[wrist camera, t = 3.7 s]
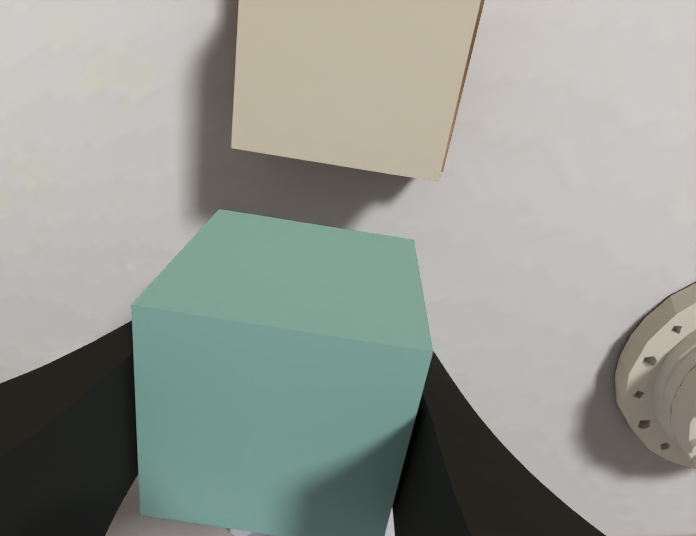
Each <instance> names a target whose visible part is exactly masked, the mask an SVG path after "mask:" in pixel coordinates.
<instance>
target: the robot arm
mask: <svg viewBox="0 0 696 536" xmlns="http://www.w3.org/2000/svg"><path fill="white" fill-rule="evenodd" d="M137 475H138V453H137V428H136V404H135V380H134V355H133V331H132V321H130V322H128V323H127V324H125V325H123V326H121V327H119V328H118V329H116V330H114V331H112V332H110V333H108V334H107V335H105V336H103V337H101V338H99V339H97V340H95V341H94V342H92V343H90V344H88V345H86V346H84V347H82V348H80V349H77V350H75V351H73V352H71V353H69V354H67V355H65V356H63V357H61V358H59V359H57V360H55V361H53V362H51V363H49V364H46V365H44V366H42V367H40V368H37V369H35V370H33V371H30V372H28V373H26V374H23V375H21V376H18V377H16V378H13V379H10V380H8V381H5V382H3V383H0V536H105V535H106V533H107V530H108V528H109V526H110V524H111V522H112V520H113V518H114V516H115V514H116V512H117V510H118V508H119V506H120V504H121V503H122V501H123V499H124V497H125V495H126V494H127V492H128V490H129V489H130V487H131V485H132V483H133V482H134V480H135V478H136V477H137ZM230 533H231V534H232V535H233V536H275V535H269V534H262V533H256V532H249V531H242V530H236V529H230ZM385 536H606V535H604V534H603V533H602V532H600V531H599V530H598V529H596V528H595V527H594V526H592V525H591V524H590V523H588V522H587V521H586V520H585V519H583V518H582V517H581V516H580V515H578V514H577V513H576V512H575V511H573V510H572V509H571V508H570V507H568V506H567V505H566V504H565V503H564V502H563V501H561V500H560V499H559V498H558V497H557V496H556V495H555V494H553V493H552V492H551V491H550V490H549V489H548V488H547V487H545V486H544V485H543V484H542V483H541V482H540V481H539V480H538V479H537V478H536V477H534V476H533V475H532V474H531V473H530V472H529V471H528V470H527V469H526V468H525V467H524V466H523V465H522V464H521V463H520V462H519V461H518V460H517V459H516V458H515V457H514V456H513V455H512V454H511V453H510V452H509V451H508V449H507V448H506V447H505V446H504V445H503V444H502V443H501V442H500V441H499V440H498V439H497V437H496V436H495V435H494V434H493V433H492V431H491V430H490V429H489V428H488V427H487V425H486V424H485V423H484V422H483V421H482V420H481V418H480V417H479V416H478V415H477V413H476V412H475V411H474V409H473V408H472V407H471V405H470V404H469V403H468V401H467V400H466V399H465V397H464V396H463V394H462V393H461V392H460V390H459V389H458V387H457V386H456V384H455V383H454V381H453V380H452V379H451V377H450V376H449V374H448V373H447V371H446V369H445V368H444V366H443V365H442V363H441V362H440V360H439V359H438V357H437V356H436V354H435V353H434V351H433V354H432V358H431V362H430V365H429V369H428V373H427V377H426V381H425V384H424V388H423V392H422V396H421V400H420V403H419V407H418V411H417V415H416V418H415V422H414V426H413V430H412V434H411V437H410V441H409V445H408V449H407V453H406V456H405V460H404V464H403V468H402V471H401V475H400V479H399V483H398V487H397V490H396V494H395V498H394V502H393V506H392V509H391V513H390V517H389V521H388V525H387V528H386V532H385Z"/></svg>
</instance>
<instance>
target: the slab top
mask: <svg viewBox="0 0 696 536" xmlns="http://www.w3.org/2000/svg"><path fill="white" fill-rule="evenodd" d="M480 2H481V0H239V4H238V24H237V43H236V63H235V82H234V101H233V121H232V140H231V148H233V149H239V150H245V151H252V152H258V153H264V154H270V155H276V156H282V157H289V158H295V159H301V160H307V161H313V162H319V163H325V164H332V165H338V166H344V167H350V168H356V169H362V170H368V171H375V172H381V173H387V174H393V175H399V176H405V177H412V178H418V179H424V180H430V181H436V182H439V178H440V173H441V169H442V165H443V161H444V156H445V152H446V148H447V143H448V139H449V135H450V131H451V126H452V122H453V118H454V113H455V109H456V105H457V101H458V96H459V92H460V88H461V84H462V79H463V75H464V71H465V66H466V62H467V58H468V54H469V49H470V45H471V41H472V36H473V32H474V28H475V24H476V19H477V15H478V11H479V6H480Z"/></svg>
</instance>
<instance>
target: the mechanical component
mask: <svg viewBox="0 0 696 536" xmlns="http://www.w3.org/2000/svg"><path fill="white" fill-rule="evenodd" d="M615 388H616V403H617V405H618V406H619V408H620V410H621V412H622V413H623V415H624V417H625V419H626V421H627V422H628V424H629V426H630V428H631V429H632V430H633V431H634V433H635V434H636V435H637V436H638V438H639V439H640V440H641V441H642V442H643V444H644V445H645V446H646V447H647V448H648V450H650V451H652V452H653V453H655V454H657V455H659V456H661V457H662V458H664V459H666V460H668V461H669V462H672V463H676V464H679V465H682V466H685V467H688V468H695V469H696V283H694V284H693V285H691V286H689V287H687V288H685V289H683V290H681V291H679V292H677V293H675V294H673V295H672V296H670V297H669V298H668V299H666V300H665V301H664V302H663V303H662V304H661V305H659V306H658V307H657V308H656V309H655V310H653V311H652V312H651V313H650V314H649V315H648V316H646V317H645V318H644V320H643V321H642V322H641V323H640V325H639V326H638V327H637V328H636V329H635V331H634V332H633V333H632V334H631V336H630V337H629V339H628V341H627V343H626V345H625V347H624V349H623V351H622V353H621V354H620V357H619V361H618V365H617V369H616V373H615Z"/></svg>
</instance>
